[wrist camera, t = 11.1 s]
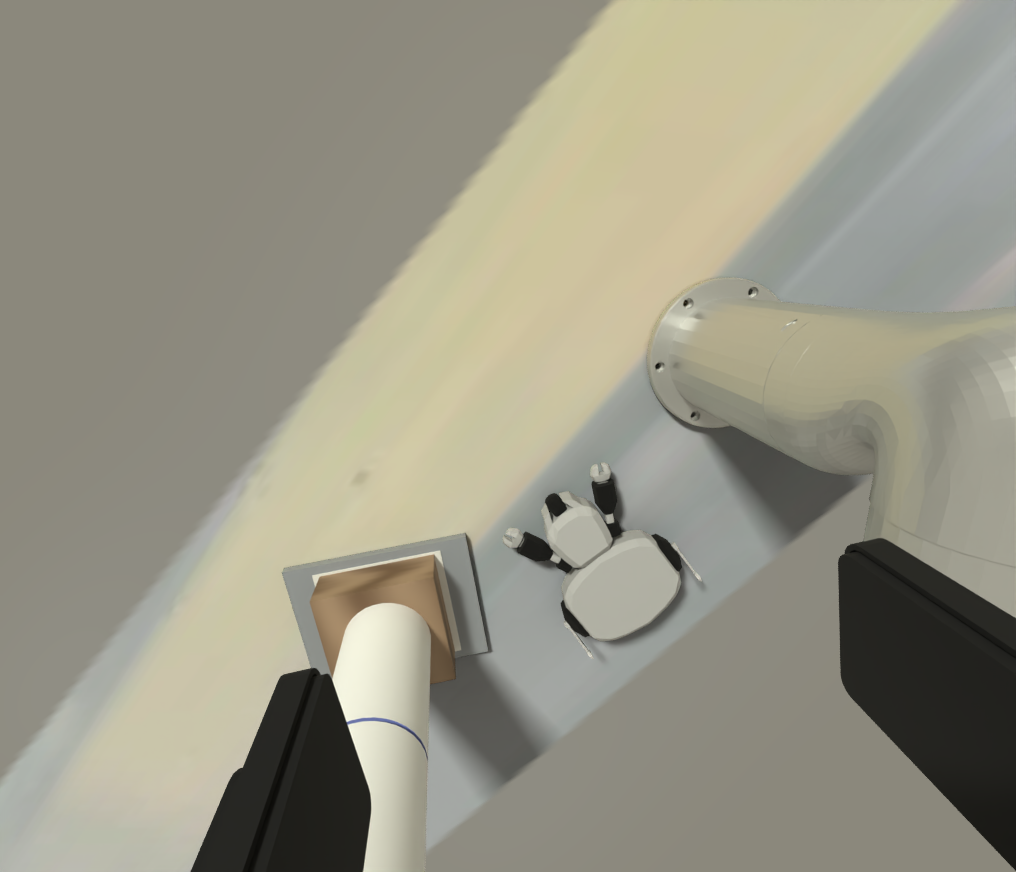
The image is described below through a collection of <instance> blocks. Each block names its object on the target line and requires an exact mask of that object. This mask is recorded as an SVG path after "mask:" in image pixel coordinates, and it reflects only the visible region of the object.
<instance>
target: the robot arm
mask: <svg viewBox="0 0 1016 872" xmlns="http://www.w3.org/2000/svg"><path fill="white" fill-rule="evenodd" d="M749 290H750V294H749V295H748V291H749ZM684 300H686V302H687V303H686V305H685V306H683V302H684ZM657 363H659V367H658V368H655V365H656V364H657ZM647 370H648V375H649V379H650V383H651V386H652V388H653V390H654V392H655V394H656V396H657V398H658V399H659V400H660V402H661V403H662V404H663V406H664V407H665V408H666V409H668V410H669V411H670V412H671V413H672V414H673V415H675V416H677V417H678V418H680V419H681V420H683V421H685V422H687V423H689V424H692V425H695V426H700V427H705V428H722V427H727V426H733V427H735V428H737V429H739V430H741V431H743V432H745V433H746V434H748V435H750V436H752V437H754V438H756V439H758V440H760V441H761V442H763V443H765V444H767V445H769V446H771V447H773V448H775V449H776V450H778V451H780V452H782V453H784V454H786V455H788V456H790V457H792V458H794V459H796V460H798V461H800V462H802V463H804V464H805V465H808V466H810V467H812V468H815V469H817V470H820V471H823V472H827V473H832V474H838V475H866V474H873V473H874V474H873V481H872V487H871V492H870V497H869V498H870V499H869V500H870V508H869V513H868V518H867V524H866V529H865V535H864V540H863V542H859V543H855V544H851V545H849V546H847V548H846V550H845V554H844V555H842V556H840V558H839V562H838V571H839V617H840V661H841V662H840V664H841V679H842V682H843V685H844V687H845V689H846V691H847V692H848V694H849V695H850V697H851V698H852V699H853V700H854V701H855V702H856V703H857V704H858V705H859V706H860V707H861V708H862V709H863V711H865V713H866V714H867V715H868V716H869V717H870V718H871V719H872V720H873V721H874V722H875V723H876V724H877V725H878V726H879V727H880V728H881V730H882V731H883V732H884V733H885V734H887V736H888V737H889V738H890V739H891V740H892V741H893V742H894V743H895V744H896V745H897V746H898V747H899V748H900V749H901V751H902V752H903V753H904V754H905V755H906V756H907V757H908V758H909V759H910V760H911V761H912V762H913V763H914V764H915V765H916V766H917V767H918V768H919V769H920V770H921V771H922V773H923V774H924V775H925V776H926V777H927V778H928V779H929V780H930V781H931V782H932V783H933V784H934V785H935V786H936V787H937V788H938V789H939V791H940V792H941V793H942V794H943V795H944V796H945V797H946V798H947V799H948V800H949V801H950V802H951V803H952V804H953V805H954V806H955V807H956V808H957V809H958V811H960V813H961V814H962V815H963V816H964V817H965V818H966V819H967V820H968V821H969V822H970V823H971V824H972V825H973V826H974V827H975V828H976V829H977V831H979V833H980V834H981V835H982V836H983V837H984V838H985V839H986V840H987V841H988V842H989V843H990V844H991V845H992V846H993V847H994V848H995V849H996V851H998V853H1000V855H1001V856H1002V857H1003V858H1004V859H1005V860H1006V861H1007V862H1008V863H1009V864H1010V865H1011V866H1012V867H1013V868H1014V869H1015V870H1016V306H1014V307H1003V308H992V309H981V310H970V311H958V312H932V313H920V312H894V311H879V310H867V309H855V308H844V307H833V306H822V305H811V304H800V303H789V302H781V301H780V300H779V299H778V298H777V297H776V296H775V295H774V294H773V293H772V292H771V291H770V290H768V289H767V288H765V287H764V286H762V285H761V284H758V283H755V282H753V281H750V280H747V279H740V278H717V279H711V280H707V281H704V282H701V283H699V284H696V285H694V286H692V287H691V288H689V289H687V290H686V291H684V292H682V293H681V294H680V295H679V296H678V297H676V298H675V299H674V300H673V301H672V302H671V303H670V304H669V305H668V307H667V308H666V309H665V310H664V312H663V313H662V314H661V316H660V318H659V319H658V321H657V323H656V325H655V327H654V329H653V332H652V335H651V338H650V341H649V346H648V353H647ZM692 412H694V413H693V415H692V416H691V414H692ZM370 818H371V795H370V790H369V787H368V784H367V781H366V778H365V775H364V772H363V769H362V766H361V763H360V760H359V757H358V754H357V751H356V748H355V745H354V742H353V740H352V737H351V734H350V731H349V728H348V725H347V722H346V719H345V716H344V713H343V710H342V707H341V704H340V701H339V698H338V695H337V692H336V689H335V687H334V684H333V681H332V678H331V676H330V675H329V674H323V675H321V674H320V672H319V671H318V669H317V668H310V669H306V670H301V671H297V672H293V673H288V674H284V675H282V676H281V677H280V679H279V680H278V683H277V685H276V688H275V690H274V693H273V695H272V697H271V700H270V702H269V705H268V707H267V710H266V712H265V715H264V717H263V720H262V722H261V724H260V727H259V729H258V732H257V734H256V737H255V739H254V742H253V744H252V746H251V749H250V751H249V754H248V756H247V759H246V761H245V764H244V766H243V768H240V769H238V770H237V771H236V772H235V773H234V774H233V775H232V777H231V779H230V781H229V782H228V785H227V787H226V789H225V792H224V794H223V797H222V799H221V801H220V804H219V806H218V808H217V811H216V813H215V815H214V818H213V820H212V822H211V825H210V827H209V830H208V832H207V834H206V837H205V839H204V841H203V844H202V846H201V848H200V851H199V853H198V855H197V858H196V860H195V862H194V865H193V867H192V870H191V872H363V869H364V862H365V855H366V847H367V840H368V833H369V826H370Z"/></svg>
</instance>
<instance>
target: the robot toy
mask: <svg viewBox="0 0 1016 872" xmlns="http://www.w3.org/2000/svg"><path fill="white" fill-rule="evenodd" d="M600 464H601V467H602V472H598V465H597V464H594V465H593V466H592V467H591V468H590V477H591V478H592V479H593V480H594V481H593V482H592V489H593V494H594V499H595V503H596V505H597V506H598V507H599V508H600V510H601V511H602V512H603V513H604V515H605V520H606V521H603V519H602V517H601V516H600V514H599V512H598V511H597V509H596V508H595V506H594V504H593V503H592V502H590V501H589V500H587V499H585V498H580V497H577V496H575V495H574V494H572V493H570V492H569V491H566V492H561V493H559V495H560V497H561V498H560V497H559V496H558V495H557V494H555V493H553V494H550V495H549V496H548V497H547V498H546V500H545V504H544V506H543V508H542V510H541V513H542V516H543V519H544V522H545V523H544V531H545V533H546V536H547V539H548V542H549V545H550V547H549V546H548V545H547V544H546V542H545V541H544V540H542V539H540V538H538V537H536V536H534V535H532V534H530V533H528V532H525V533H524V534H522V533H521V531H520V530H519V529H515V528H509V529H507V531H506V534H508V535H510V536H512V537H513V538H512V539H511V538H509V537H507V536H505V535H504V536H503V539H502V540H503V543H504V544H505V545H506V546H507V547H509V548H517V552H518V553H519V554H521V555H523V556H526V557H528V558H530V559H532V560H534V561H546V560H551V561H553V562H555V563H556V565H557V568H559V569H561V570H563V571H565V572H567V575H566V576H565V578H564V581H563V584H562V587H561V589H562V594H563V601H562V602H561V607H562V611H563V615H564V618H565V621H564V625H565V626H566V627H567V629H570V631H571V632H572V633H573V635H574V636H575V637H576V639H577V640H578V641H579V643H580V644H581V645H582V647H583V648H584V649H585V651H586V652H587V654H588V655H589V657H590V658H592V659H594V658H593V655H592V653H591V652H590V650H588V649H587V647H586V646H585V645H584V643H583V642H582V641H581V639H580V638H579V637H578V635H577V634H576V633H575V632H577V633H579V634H581V635H582V636H584V637H587V636H591V637H593V638H595V639H597V640H599V641H612V640H616V639H619V638H622V637H624V636H627V635H629V634H631V633H633V632H635V631H637V630H639V629H641V628H643V627H645V626H646V625H648V624H650V623H651V622H652V621H653V620H654V619H655V618H656V617H657V616H658V615H660V614H661V613H662V612H663V611H664V610H665V609H666V608H667V607H668V605H669V604H670V603H671V602H672V601H673V599H674V598H675V596H676V595H677V593H678V591H679V588H680V585H681V579H680V574H679V571H680V569H681V568H682V566H681V561H680V557H679V555H680V556H681V557H682V559H683V560H684V561H685V562H686V564H687V565H688V566H689V568H690V569H691V570H692V572H693V573H694V575H695V576H696V577H697V579H698V580H700V581H701V582H702V580H701V577H700V576H699V575H698V574H697V573H696V572H695V570H694V569H693V568H692V567H691V565H690V564H689V563H688V561H687V560H686V559H685V557H684V556H683V555H682V554H681V552H680V551H679V550H678V549H679V548H678V547H677V545H676V544H675V543H674V542H673V543H671V544H670V543H669V542H668V541H667V540H666V539H664V538H663V537H661V536H659V535H657V534H654V535H649V534H647V533H645V532H643V531H641V530H630V531H625V532H622V533H620V527H619V522H618V521H617V520H615V519H614V517H613V511H614V509H615V506H616V502H617V497H616V492H615V487H614V481H613V479H611V478H610V474H611V469H610V467H609V464H606V463H604V462H603V463H600ZM546 505H547V506H546ZM547 507H548V508H549V510H550V511H551V513H550V514H549V511H548V508H547ZM550 548H551V549H552V550H553V551H554V552H553V551H552V550H551V549H550ZM676 551H677V552H678V553H679V555H678V553H677V552H676ZM555 552H556V553H555Z"/></svg>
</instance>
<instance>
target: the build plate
mask: <svg viewBox="0 0 1016 872" xmlns="http://www.w3.org/2000/svg"><path fill="white" fill-rule="evenodd" d="M433 554H434V557H435V562H436V566H437V571H438V575H439V580H440V585H441V589H442V594H443V598H444V603H445V608H446V612H447V617H448V621H449V626H450V630H451V635H452V640H453V644H454V649H455V658H458V657H463V656H468V655H473V654H478V653H482V652H487V651H488V646H487V641H486V636H485V631H484V626H483V621H482V615H481V610H480V605H479V600H478V595H477V590H476V585H475V580H474V575H473V570H472V565H471V560H470V555H469V550H468V545H467V540H466V534H465V533H463V534H458V535H452V536H447V537H442V538H437V539H432V540H427V541H421V542H416V543H411V544H406V545H401V546H396V547H391V548H385V549H380V550H375V551H370V552H365V553H360V554H355V555H349V556H344V557H339V558H334V559H329V560H324V561H318V562H313V563H308V564H303V565H298V566H293V567H288V568H284V570H283V572H282V575H283V578H284V581H285V585H286V588H287V591H288V594H289V598H290V601H291V604H292V607H293V610H294V614H295V617H296V620H297V623H298V627H299V630H300V633H301V636H302V640H303V643H304V646H305V649H306V653H307V656H308V659H309V662H310V666H311V668H317V669H318V671H319V672H320V674H321V675H323V674H329V675H330V676H331V673H330V670H329V666H328V663H327V659H326V656H325V653H324V649H323V646H322V643H321V639H320V636H319V633H318V629H317V626H316V623H315V619H314V616H313V612H312V609H311V606H310V600H311V597H312V594H313V592H314V589H315V587H316V584H317V582H318V579H319V577H320V576H325V575H331V574H336V573H341V572H346V571H351V570H356V569H361V568H366V567H371V566H376V565H382V564H387V563H392V562H397V561H402V560H407V559H412V558H417V557H422V556H428V555H433ZM331 678H332V676H331Z"/></svg>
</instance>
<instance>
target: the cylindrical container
mask: <svg viewBox="0 0 1016 872" xmlns="http://www.w3.org/2000/svg"><path fill="white" fill-rule="evenodd" d="M430 657H431V634H430V630H429V627H428V625H427V623H426V621H425V620H424V619H423V618H422V616H421V615H420V614H418V613H417V612H416V611H415V610H413V609H411V608H409V607H407V606H404V605H401V604H395V603H381V604H376V605H372V606H370V607H367V608H365V609H363V610H362V611H360V612H359V613H357V614H356V615H355V616H354V617H353V618H352V619H351V621H350V622H349V624H348V625H347V628H346V630H345V633H344V637H343V640H342V644H341V648H340V652H339V656H338V659H337V663H336V667H335V671H334V674H333V678H332V681H333V684H334V687H335V689H336V692H337V695H338V698H339V701H340V704H341V707H342V710H343V713H344V716H345V719H346V722H347V725H348V728H349V731H350V734H351V737H352V740H353V742H354V745H355V748H356V751H357V754H358V757H359V760H360V763H361V766H362V769H363V772H364V775H365V778H366V781H367V784H368V787H369V790H370V795H371V818H370V826H369V833H368V840H367V847H366V855H365V862H364V869H363V872H425V854H426V811H427V767H428V734H429V699H430Z"/></svg>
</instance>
